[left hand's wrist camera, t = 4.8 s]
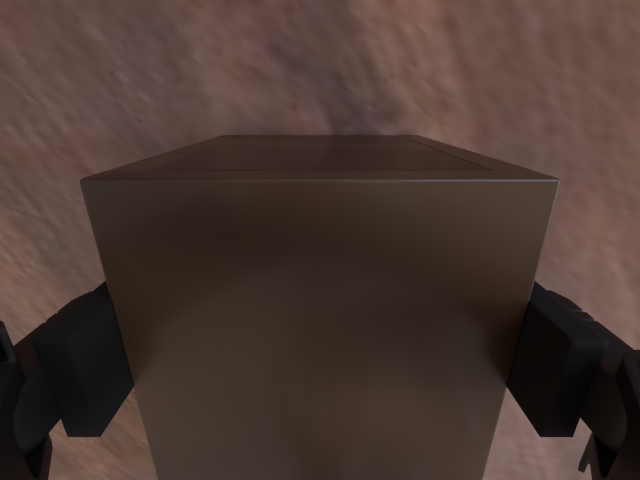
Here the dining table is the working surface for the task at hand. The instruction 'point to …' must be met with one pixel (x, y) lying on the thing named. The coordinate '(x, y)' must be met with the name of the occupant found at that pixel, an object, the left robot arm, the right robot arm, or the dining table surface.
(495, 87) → the dining table surface
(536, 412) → the left robot arm
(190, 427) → the brown block
